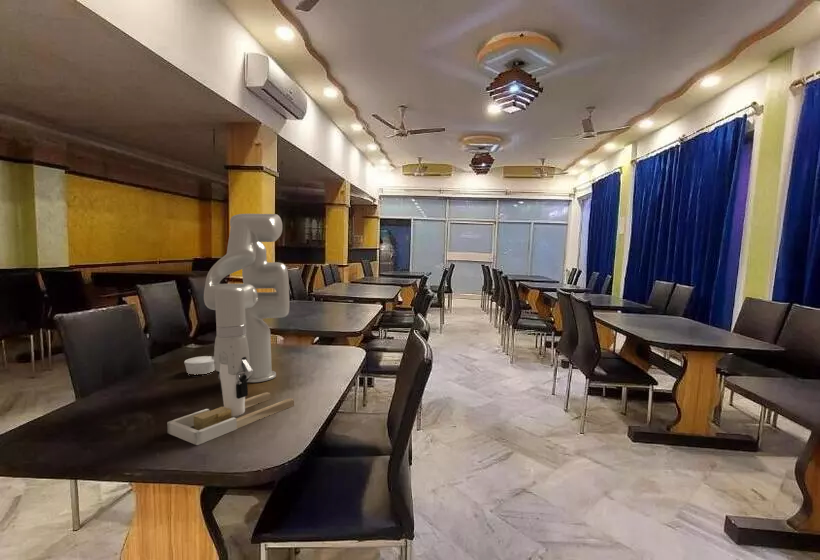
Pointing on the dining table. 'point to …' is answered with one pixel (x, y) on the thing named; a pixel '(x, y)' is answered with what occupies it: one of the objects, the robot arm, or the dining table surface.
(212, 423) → the tan cube
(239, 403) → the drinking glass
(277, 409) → the channel
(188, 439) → the u-shaped frame
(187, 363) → the ramekin
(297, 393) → the dining table surface
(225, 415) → the wooden cube
